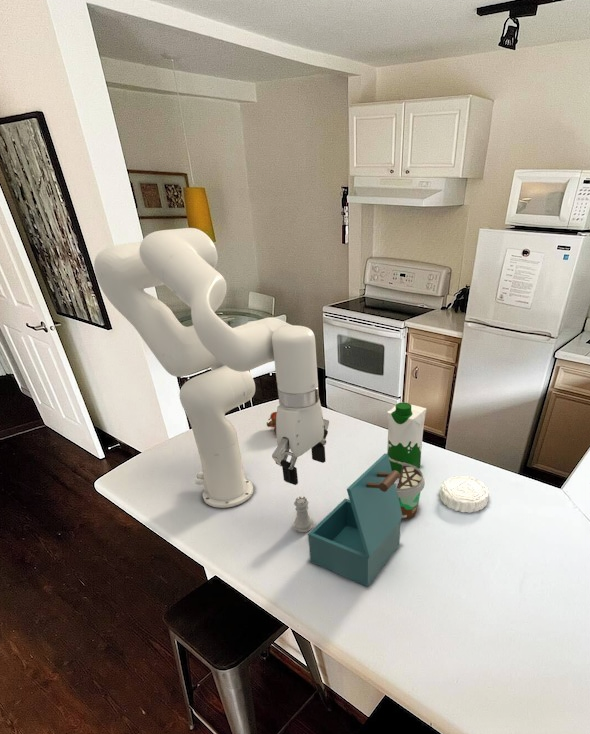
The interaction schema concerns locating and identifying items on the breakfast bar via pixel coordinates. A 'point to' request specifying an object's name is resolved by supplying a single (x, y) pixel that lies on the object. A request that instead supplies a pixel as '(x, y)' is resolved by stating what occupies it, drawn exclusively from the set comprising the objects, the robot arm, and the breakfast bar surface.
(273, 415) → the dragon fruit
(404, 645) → the breakfast bar surface
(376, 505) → the lid
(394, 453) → the milk carton
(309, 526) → the rook chess piece
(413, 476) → the food container
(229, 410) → the robot arm
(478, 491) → the mooncake
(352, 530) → the teal hinged box
